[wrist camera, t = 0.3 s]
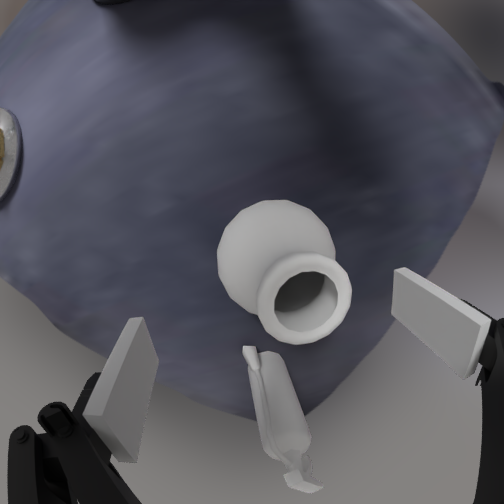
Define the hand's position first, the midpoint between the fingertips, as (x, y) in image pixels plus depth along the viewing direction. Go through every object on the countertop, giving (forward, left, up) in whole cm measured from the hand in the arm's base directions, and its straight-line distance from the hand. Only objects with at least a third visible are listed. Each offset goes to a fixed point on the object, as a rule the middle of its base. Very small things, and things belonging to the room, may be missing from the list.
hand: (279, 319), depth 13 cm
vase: (+4, +3, -28) cm, 28 cm away
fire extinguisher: (+25, 0, -28) cm, 37 cm away
